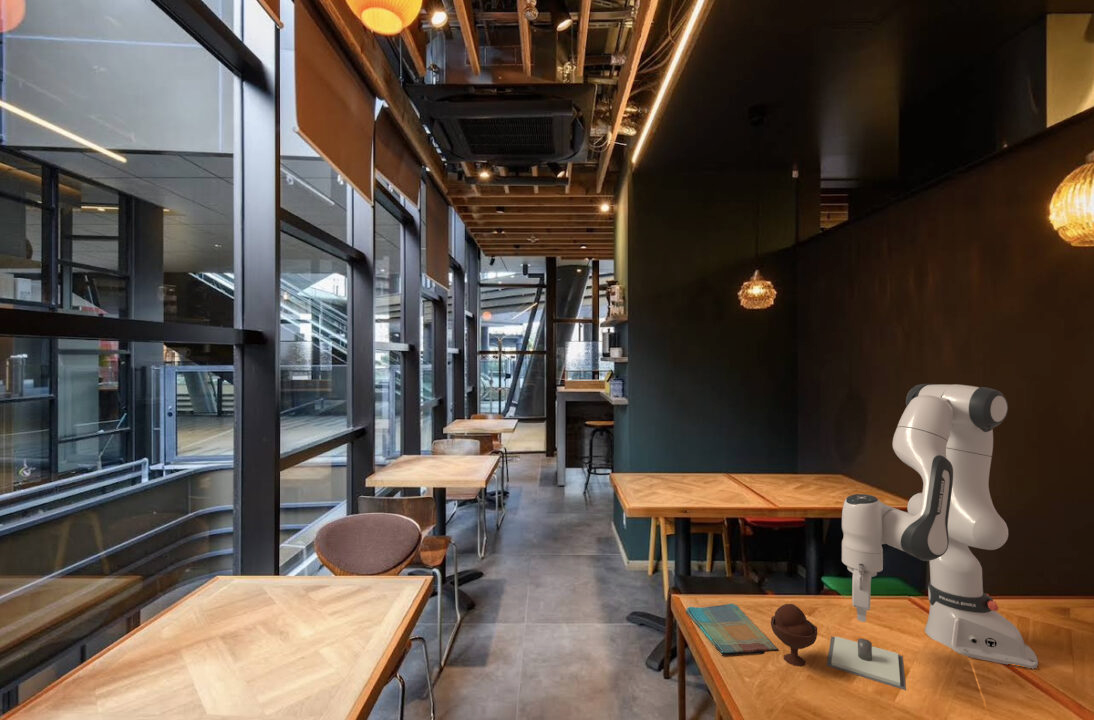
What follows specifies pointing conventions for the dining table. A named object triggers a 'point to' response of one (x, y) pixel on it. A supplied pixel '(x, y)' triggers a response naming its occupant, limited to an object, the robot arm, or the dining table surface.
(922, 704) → the dining table surface
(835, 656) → the lid
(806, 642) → the ice cream bowl
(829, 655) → the mat
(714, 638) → the dish towel
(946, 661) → the dining table surface
